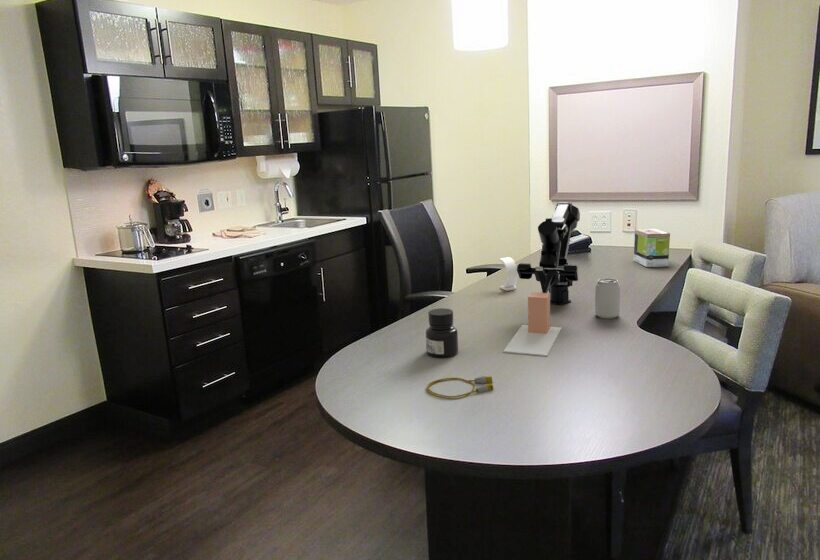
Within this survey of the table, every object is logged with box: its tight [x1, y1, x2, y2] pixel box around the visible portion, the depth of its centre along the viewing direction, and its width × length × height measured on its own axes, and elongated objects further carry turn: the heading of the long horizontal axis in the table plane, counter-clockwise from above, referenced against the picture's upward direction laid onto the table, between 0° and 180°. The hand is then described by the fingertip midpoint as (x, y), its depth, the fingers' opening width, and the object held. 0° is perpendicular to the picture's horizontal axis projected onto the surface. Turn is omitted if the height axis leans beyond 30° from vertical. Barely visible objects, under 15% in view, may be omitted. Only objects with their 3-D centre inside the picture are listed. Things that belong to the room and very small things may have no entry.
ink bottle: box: [425, 307, 459, 359], centre depth 160 cm, size 10×9×12 cm
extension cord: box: [426, 375, 494, 400], centre depth 137 cm, size 12×16×2 cm
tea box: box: [633, 228, 671, 268], centre depth 253 cm, size 15×10×15 cm, turn 179°
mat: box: [502, 324, 562, 357], centre depth 167 cm, size 24×12×1 cm, turn 157°
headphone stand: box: [498, 256, 519, 292], centre depth 224 cm, size 5×6×12 cm
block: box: [527, 291, 551, 334], centre depth 173 cm, size 6×6×11 cm
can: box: [594, 277, 621, 320], centre depth 184 cm, size 8×8×12 cm
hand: (544, 294), depth 179 cm, fingers closed
